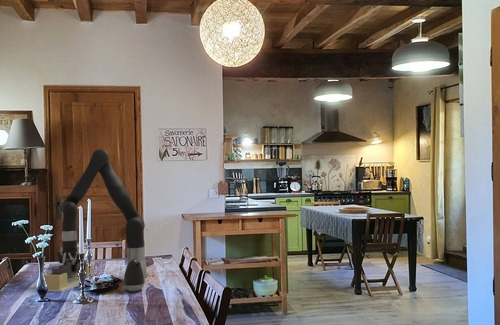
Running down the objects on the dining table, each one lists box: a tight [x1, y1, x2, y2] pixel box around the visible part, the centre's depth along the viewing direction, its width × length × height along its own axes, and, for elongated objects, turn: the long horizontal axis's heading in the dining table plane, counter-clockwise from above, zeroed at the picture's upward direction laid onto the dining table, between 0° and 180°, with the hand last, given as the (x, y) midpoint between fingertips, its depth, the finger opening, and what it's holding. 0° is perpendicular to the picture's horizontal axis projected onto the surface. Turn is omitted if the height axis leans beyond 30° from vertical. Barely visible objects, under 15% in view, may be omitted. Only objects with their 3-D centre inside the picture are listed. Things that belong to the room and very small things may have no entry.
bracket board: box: [43, 263, 94, 293], centre depth 255 cm, size 12×30×8 cm, turn 165°
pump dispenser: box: [123, 260, 146, 293], centre depth 238 cm, size 10×10×15 cm
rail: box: [51, 259, 87, 276], centre depth 255 cm, size 5×22×5 cm, turn 164°
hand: (69, 271), depth 255 cm, fingers closed on rail, 5 cm apart
